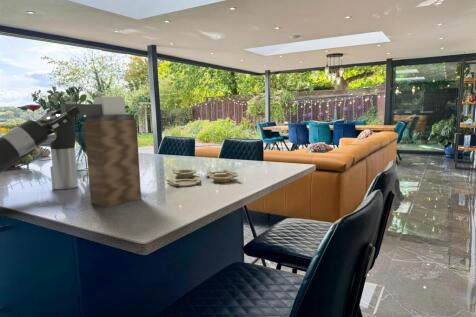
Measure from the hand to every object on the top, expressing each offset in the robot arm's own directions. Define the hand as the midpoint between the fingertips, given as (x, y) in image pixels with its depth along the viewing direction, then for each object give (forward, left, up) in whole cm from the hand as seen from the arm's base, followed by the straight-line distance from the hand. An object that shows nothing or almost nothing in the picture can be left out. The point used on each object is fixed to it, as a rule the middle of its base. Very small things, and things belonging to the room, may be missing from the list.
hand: (71, 109), depth 106 cm
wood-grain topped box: (+7, +12, -33) cm, 35 cm away
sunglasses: (-31, +57, -34) cm, 74 cm away
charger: (+4, +6, -2) cm, 8 cm away
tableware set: (+29, +53, -33) cm, 69 cm away
